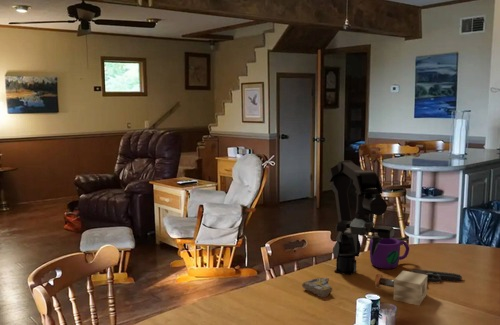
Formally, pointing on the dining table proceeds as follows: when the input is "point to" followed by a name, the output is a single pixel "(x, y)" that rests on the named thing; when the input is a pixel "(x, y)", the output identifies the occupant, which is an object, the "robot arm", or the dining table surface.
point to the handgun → (439, 275)
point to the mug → (387, 253)
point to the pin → (383, 281)
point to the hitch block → (410, 287)
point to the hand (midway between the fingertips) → (363, 253)
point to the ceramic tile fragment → (318, 286)
